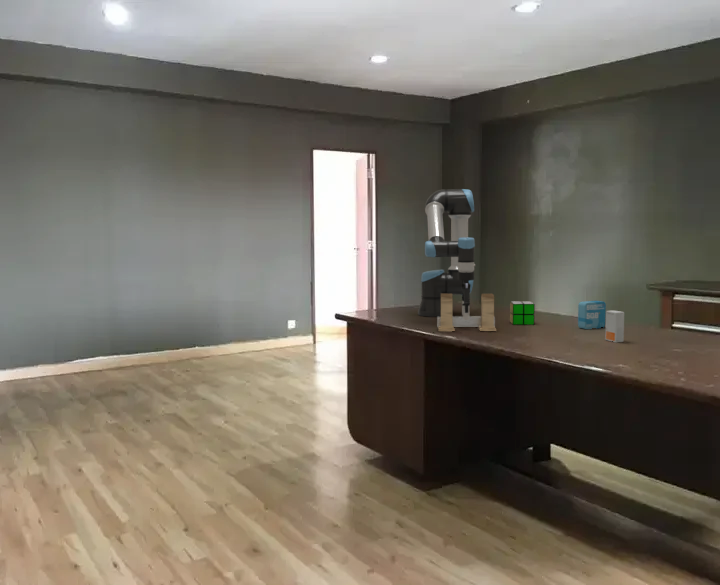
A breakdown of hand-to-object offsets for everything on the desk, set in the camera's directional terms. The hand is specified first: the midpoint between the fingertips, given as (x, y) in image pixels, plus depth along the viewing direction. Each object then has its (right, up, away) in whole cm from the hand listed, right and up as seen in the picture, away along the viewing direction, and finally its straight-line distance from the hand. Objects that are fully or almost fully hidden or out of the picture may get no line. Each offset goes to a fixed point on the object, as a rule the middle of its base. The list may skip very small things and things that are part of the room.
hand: (465, 317), depth 309 cm
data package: (+56, -5, -7) cm, 56 cm away
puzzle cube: (+28, -3, +9) cm, 30 cm away
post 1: (-10, -5, -9) cm, 14 cm away
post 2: (+8, -5, -11) cm, 14 cm away
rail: (0, -5, 0) cm, 5 cm away
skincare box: (+53, -8, -41) cm, 67 cm away
